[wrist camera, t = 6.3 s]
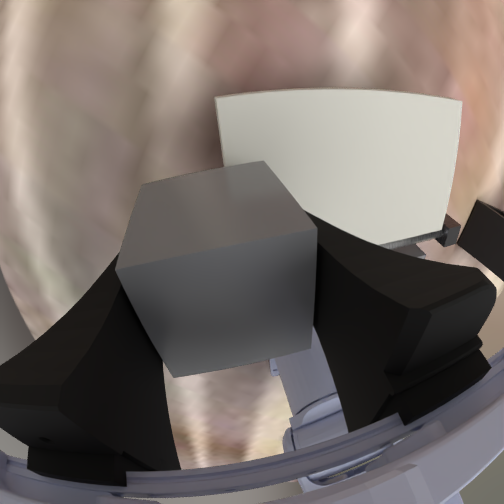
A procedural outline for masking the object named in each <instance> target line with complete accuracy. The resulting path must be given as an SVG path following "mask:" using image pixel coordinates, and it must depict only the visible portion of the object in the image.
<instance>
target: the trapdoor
mask: <svg viewBox="0 0 504 504" xmlns="http://www.w3.org/2000/svg"><path fill="white" fill-rule="evenodd" d="M214 100H215V108H216V115H217V122H218V129H219V136H220V143H221V150H222V157H223V164H224V167H227V166H232V165H238V164H244V163H250V162H256V161H263V160H264V161H265V163H266V164H267V165H268V166H269V167H270V169H271V170H272V171H273V172H274V173H275V175H276V176H277V177H278V178H279V180H280V181H281V182H282V183H283V185H284V186H285V187H286V188H287V190H288V191H289V192H290V193H291V195H292V196H293V197H294V198H295V200H296V201H297V202H298V203H299V205H300V206H301V207H302V209H303V210H305V211H307V212H309V213H311V214H313V215H314V216H316V217H318V218H320V219H322V220H324V221H326V222H328V223H330V224H331V225H333V226H335V227H337V228H339V229H341V230H343V231H346V232H348V233H350V234H352V235H354V236H356V237H359V238H361V239H363V240H366V241H368V242H371V243H374V244H376V245H380V244H385V243H389V242H393V241H397V240H402V239H406V238H410V237H414V236H418V235H423V234H427V233H431V232H435V231H439V230H442V226H443V222H444V218H445V214H446V210H447V206H448V201H449V197H450V192H451V187H452V182H453V176H454V170H455V164H456V158H457V151H458V143H459V135H460V125H461V113H462V101H459V100H456V99H453V98H449V97H443V96H437V95H430V94H423V93H415V92H406V91H396V90H384V89H368V88H295V89H279V90H266V91H255V92H246V93H238V94H230V95H223V96H216V97H214ZM392 250H393V251H396V252H400V253H403V254H407V255H410V256H414V257H418V258H422V259H425V256H426V254H425V253H424V252H423V251H422V250H421V249H420V248H419V247H418V246H417V245H416V244H412V245H408V246H404V247H400V248H396V249H392Z"/></svg>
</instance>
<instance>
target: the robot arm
mask: <svg viewBox="0 0 504 504" xmlns="http://www.w3.org/2000/svg"><path fill="white" fill-rule="evenodd" d="M304 211H305V210H304ZM305 212H306V214H307V215H308V216H309V218H310V219H311V220H312V222H313V223H314V224H315V226H316V227H317V260H316V283H315V301H314V316H313V330H312V343H311V349H308V350H304V351H300V352H297V353H293V354H289V355H285V356H281V357H277V358H273V359H269V362H270V372H271V376H278V375H280V377H281V380H282V384H283V387H284V390H285V393H286V396H287V399H288V402H289V405H290V408H291V412H292V415H293V417H291V418H289V420H290V424H291V427H290V428H287V429H286V431H285V434H284V436H283V449H284V453H283V454H278V455H274V456H270V457H266V458H261V459H256V460H251V461H246V462H240V463H234V464H228V465H222V466H214V467H206V468H197V469H187V470H181V467H180V463H179V459H178V456H177V452H176V447H175V443H174V439H173V434H172V429H171V424H170V418H169V413H168V406H167V399H166V392H165V383H164V373H163V360H162V358H161V357H160V355H159V353H158V351H157V350H156V348H155V346H154V345H153V343H152V341H151V339H150V338H149V336H148V334H147V332H146V330H145V329H144V327H143V325H142V323H141V321H140V319H139V317H138V315H137V314H136V312H135V310H134V308H133V306H132V304H131V302H130V300H129V298H128V296H127V294H126V292H125V290H124V288H123V286H122V284H121V281H120V279H119V277H118V275H117V273H116V271H115V268H116V264H117V260H118V257H119V253H120V252H119V253H118V255H117V256H116V257H115V258H114V260H113V261H112V262H111V263H110V265H109V266H108V267H107V268H106V270H105V271H104V272H103V273H102V274H101V276H100V277H99V278H98V279H97V280H96V282H95V283H94V284H93V285H92V286H91V287H90V289H89V290H88V291H87V292H86V293H85V294H84V296H83V297H82V298H81V299H80V300H79V301H78V302H77V303H76V304H75V305H74V306H73V307H72V308H71V309H70V310H69V311H68V312H67V313H66V314H65V315H64V316H63V317H62V318H61V319H60V320H58V321H57V322H56V323H55V324H54V325H53V326H52V327H51V328H50V329H49V330H47V331H46V332H45V333H44V334H43V335H42V336H40V337H39V338H38V339H37V340H35V341H34V342H33V343H32V344H30V345H29V346H28V347H26V348H25V349H24V350H22V351H21V352H20V353H18V354H17V355H15V356H14V357H12V358H11V359H9V360H8V361H6V362H5V363H3V364H2V365H1V366H0V428H2V429H3V430H4V431H6V432H7V433H9V434H10V435H12V436H13V437H15V438H16V439H18V440H19V441H21V442H22V443H24V444H26V445H27V446H29V449H28V459H27V460H26V459H21V458H17V457H13V456H9V455H6V454H5V453H4V452H3V451H1V450H0V504H161V503H159V502H157V501H150V500H138V499H129V498H123V497H136V498H175V497H193V496H205V495H214V494H222V493H231V492H237V491H243V490H249V489H254V488H260V487H265V486H270V485H274V484H278V483H283V482H287V481H291V480H295V479H297V480H298V482H299V484H300V486H301V488H302V490H303V492H304V493H303V494H299V495H295V496H291V497H287V498H283V499H278V500H274V501H269V502H264V503H259V504H464V503H463V500H462V498H461V496H460V493H459V491H460V490H461V489H462V488H464V487H465V486H466V485H467V484H468V483H469V482H471V481H472V480H473V479H474V478H475V477H476V476H477V475H479V474H480V473H481V472H482V471H483V470H484V469H485V468H486V467H487V466H488V465H489V464H490V463H491V462H492V461H493V460H494V459H495V458H496V457H497V456H498V455H499V454H500V453H501V452H502V451H503V450H504V348H502V349H501V350H500V351H499V352H497V353H496V354H495V355H493V356H492V357H490V358H489V359H488V360H486V358H485V357H484V355H483V354H482V353H481V351H480V350H479V349H480V348H481V346H482V345H483V344H482V341H481V339H480V338H479V337H478V335H477V334H478V333H479V331H480V329H481V328H482V326H483V325H484V323H485V321H486V319H487V318H488V316H489V314H490V312H491V310H492V308H493V306H494V304H495V301H496V287H495V286H494V284H493V283H492V282H491V281H490V280H489V279H488V278H487V277H486V276H485V275H484V274H483V273H482V272H481V271H480V270H479V269H478V268H474V267H467V266H459V265H452V264H445V263H440V262H435V261H430V260H426V259H422V258H418V257H414V256H410V255H407V254H403V253H400V252H396V251H393V250H390V249H387V248H384V247H381V246H379V245H376V244H374V243H371V242H368V241H366V240H363V239H361V238H359V237H356V236H354V235H352V234H350V233H348V232H346V231H343V230H341V229H339V228H337V227H335V226H333V225H331V224H330V223H328V222H326V221H324V220H322V219H320V218H318V217H316V216H314V215H313V214H311V213H309V212H307V211H305ZM407 436H408V437H407ZM405 437H406V438H405ZM403 438H404V439H403ZM381 454H382V456H380V457H379V458H377V459H375V460H373V461H371V462H369V463H367V464H365V465H362V466H360V467H357V468H355V469H353V470H350V471H348V472H345V473H343V474H340V475H338V476H334V477H330V478H327V477H329V476H332V475H335V474H337V473H340V472H342V471H345V470H347V469H350V468H352V467H355V466H357V465H359V464H362V463H364V462H366V461H368V460H370V459H372V458H375V457H377V456H379V455H381Z"/></svg>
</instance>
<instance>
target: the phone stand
mask: <svg viewBox="0 0 504 504" xmlns="http://www.w3.org/2000/svg"><path fill="white" fill-rule="evenodd" d="M457 244H458V245H459V246H460V247H461V248H463V249H464V250H465V251H467V252H468V253H469V254H471V255H472V256H473V257H474V258H476V259H477V260H478V261H479V262H481V263H482V264H483V265H484V266H486V267H487V268H488V269H489V270H491V271H492V272H493V273H494V274H495V275H497V276H498V277H499V278H500V279H501V280H502V281H504V212H503V211H501V210H499V209H497V208H495V207H493V206H491V205H488V204H486V203H484V202H481V201H479V200H477V202H476V204H475V207H474V209H473V211H472V213H471V216H470V218H469V220H468V222H467V224H466V226H465V229H464V231H463V233H462V235H461V237H460V239H459V241H458V243H457Z"/></svg>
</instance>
